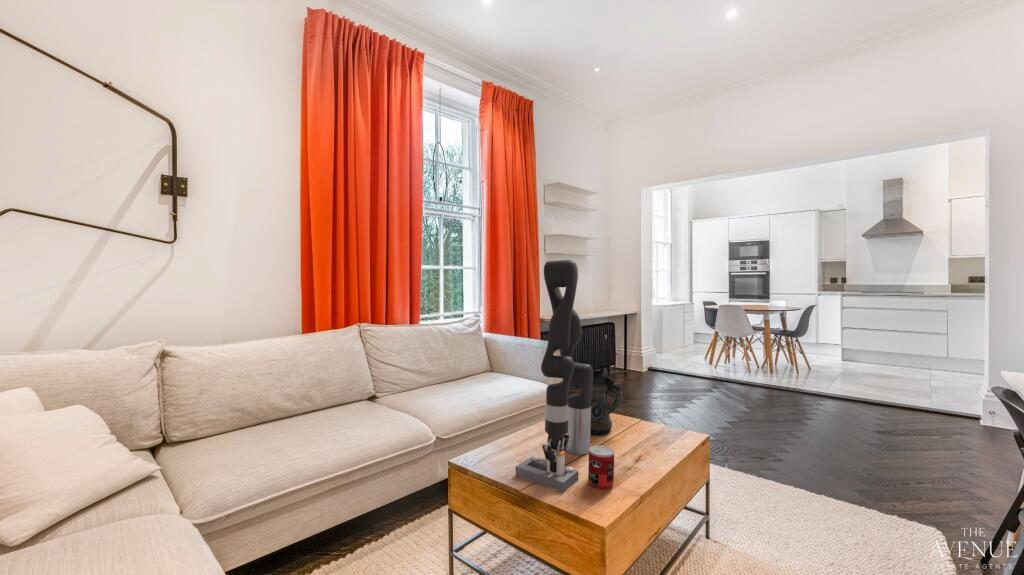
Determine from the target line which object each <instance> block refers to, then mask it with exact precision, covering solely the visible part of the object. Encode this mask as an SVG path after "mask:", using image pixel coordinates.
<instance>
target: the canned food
mask: <svg viewBox="0 0 1024 575" xmlns="http://www.w3.org/2000/svg"><path fill="white" fill-rule="evenodd" d="M587 466H588V467H587V468H588V470H587V471H588V474H587V475H588V477H587V478H588V479H587V481H588V483H589V485H590V486H591V487H592V488H594V489H597V490H609V489H612V488H613V486H614V478H615V450H614V449H613V448H611V447H609V446H605V445H593V446H590V448H589V453H588V465H587Z"/></svg>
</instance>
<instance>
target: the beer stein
mask: <svg viewBox="0 0 1024 575" xmlns="http://www.w3.org/2000/svg"><path fill="white" fill-rule="evenodd" d="M608 391H610V392H614V393H615V395H616V397H615V399H614V401H613V402H612V404H611V405H610V406H609V398H608V397H609V396H608ZM622 400H623V391H622V389H621V387H620V386H619V385H618V384H617V383H615V381H614V379H613V377H611V376H606V375H605V374H604V373H603V372H602V371H598V370H593V384H592V398H591V429H590V436H592V435H593V437H596V436H597V437H599V436H600V437H602V436H605V435H608V434H610V433H611V429H612V427H613V422H612V419H611V416H610V414H612V413H613V412H614V411H615V410H616V409H617V408H619V406H620V404H621V403H622Z"/></svg>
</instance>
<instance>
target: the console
mask: <svg viewBox="0 0 1024 575" xmlns="http://www.w3.org/2000/svg"><path fill="white" fill-rule="evenodd" d="M515 476H517V477H519V478H522V479H524V480H527V481H530V482H533V483H536V484H538V485H541V486H545V487H548V488H550V489H552V490H556V491H559V492H562V493H564V492H565V491H567V490H568V489H569V488H570V487H572V486H573V485H574V484H575V483H576V482H578V481H579V470H577V469H575V468H574V467H572V466H564V476H563V477H562V476H559V475H556V474H553V473H550V472H547V460H546V459H542V458H541V457H540V456H535V455H534V456H533V455H532V456H530V457H528V458H527V459H526V460H524V461H522V462H520V463H519V464H518V465H515Z"/></svg>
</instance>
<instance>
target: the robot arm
mask: <svg viewBox="0 0 1024 575" xmlns="http://www.w3.org/2000/svg"><path fill="white" fill-rule="evenodd" d="M543 278H544V283H545V286H546V290H547V294H548V298H549V302H550V304H551V311H552V316H551V318H550V321H549V325H548V338H547V339H548V340H547V345H546V346H547V347H546V350H545V352H544V356H543V357H542V358H543V359H542V361H541V365H540V369H541V370H540V371H541V373H542V375H543V376H544V377H546V378H555V379H562V380H561V381H560V382H558V383H552V384H549V385H547V387H546V389H545V390H546V393H545V394H546V396H545V397H546V398H545V399H546V401H545V409H544V410H545V411H544V413H545V415H544V431H545V433H546V434H547V435H548V436H547V441H546V442H547V443H546V444H543V445H542V450H543V454H544V457H545V460H546V461H547V460H549V461H550V471H551V472H554V473H555V472H556V471H557V454H558V453H559V450H561V451H565V454H566V453H569V454H571V455H578V456H583V455H587V454H589V448H590V447H591V435H590V429H591V398H592V384H593V371H594V369H593V366H592V365H591V364H588V363H580V362H574V361H575V360H574V359H573V353H574V351H575V349H576V347H577V346H578V344H579V342H580V340H581V338H582V335H583V333H582V326H581V320H580V316H579V314H578V313H577V312H576V310H575V308H574V304H575V298H576V293H577V288H578V280H579V269H578V265H577V263H576V261H574V260H573V259H564V260H563V259H561V260H548V261H546V262H545V263H544V265H543ZM560 288H565V291H564V295H563V294H562V292H561V289H560ZM557 351H559V355H554V354H555V352H557ZM570 387H571V388H575V389H576V388H577V389H580V390H579V391H580V392H579V393H575V394H571V395H569V388H570ZM552 449H553V450H552ZM555 450H556V451H555ZM553 454H554V456H553Z"/></svg>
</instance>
